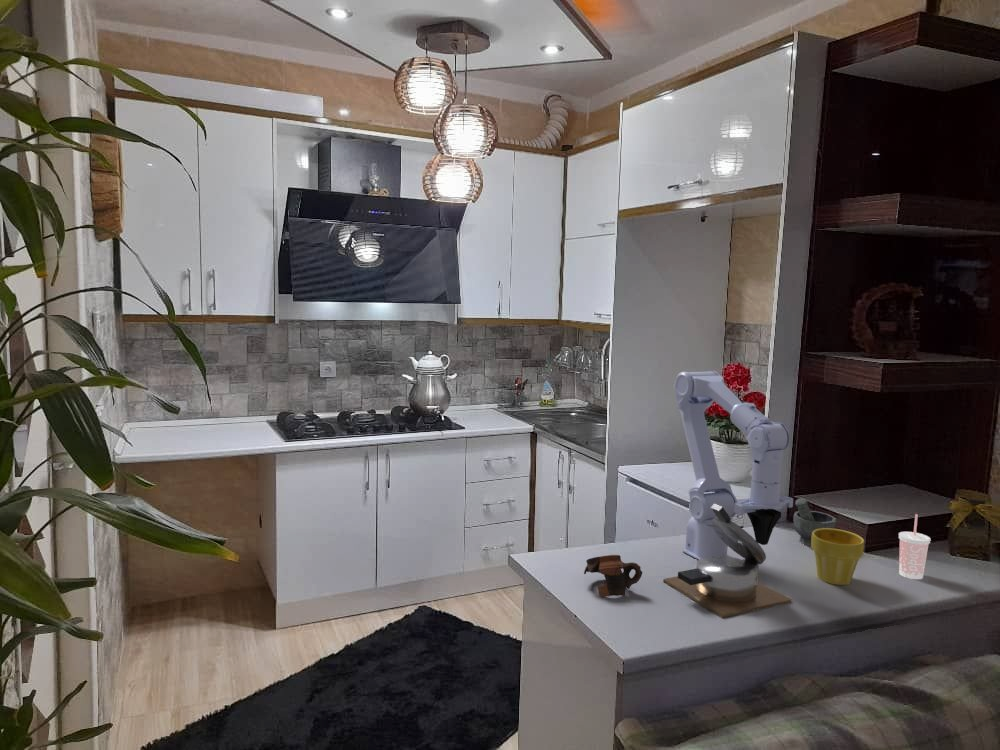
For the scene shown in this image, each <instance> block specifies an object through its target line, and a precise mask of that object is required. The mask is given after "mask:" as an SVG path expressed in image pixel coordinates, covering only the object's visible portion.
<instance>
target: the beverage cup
mask: <svg viewBox="0 0 1000 750" xmlns="http://www.w3.org/2000/svg"><path fill="white" fill-rule="evenodd" d="M914 514H915V515H914V525H913V531H900V532H898V539H899V563H898V565H899V566H898V569H899V570H898V574H899V575H900V576H902V577H904V578H906V577H907V579H911V580H922V579H923V578H924V573H925V567H926V561H927V557H928V556H927V555H928V548H929V544H931V541H932V540H931V537H930V536H928V535H926V534H923V533H920V532H917V526H918V517H919V516H918V514H917V513H914Z"/></svg>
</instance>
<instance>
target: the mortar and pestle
mask: <svg viewBox="0 0 1000 750" xmlns="http://www.w3.org/2000/svg"><path fill="white" fill-rule="evenodd" d="M794 504H795V506H796V507H797V509H798V511H795V512H794V514H793V519H792V521H793V528H794V529H795V531H796V533H797V534H798V535H799V537H800V538H799V543H800V542H801V543H802V544H801V543H800V544H801V545H803V544H804V545H803V546H806V545H807V547H809V546H811V537H812V532H813V531H814V530H816V529H821V528H831V529H835V527H836V522H837V521H836V520H837V518H836V517H834V516H832V515H831V514H829V513H826V512H821V511H817V510H811V509H810V507H809V505H808V500H807V499H806V498H804V497H803V498H802V497H800V498H797V499H796V500H795V503H794Z"/></svg>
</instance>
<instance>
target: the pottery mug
mask: <svg viewBox="0 0 1000 750" xmlns="http://www.w3.org/2000/svg"><path fill="white" fill-rule="evenodd" d="M586 564H587V565H586V567H585V568H584V571H583V575H586V574H587V573H591V574H593V573H598V574H602V575H603V577H604V578H605V579H604V580H605V582H606V583H604V584H601V585H598V586H597V590H598V594H599V597H600V596H603V598H604V597H610V596H612V597H613V596H615V597H619V596H626V593H627V589H628V590H630V588H631V587H632V585H635V584H637V583H638V582H639V580H640V579H641V578H642V577H643V576H642V574H643V571H642V570H641V569H642V568H641V566H640V565H639V564H638V563H636V562H624V561H622V558H621V555H620V554H609V555H606V554H605V555H602V556H594V557H592V558H588V559H586ZM632 570H634V571H635V573H634V575H633V576H632V577H631V576H630V573H631V572H632Z"/></svg>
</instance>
